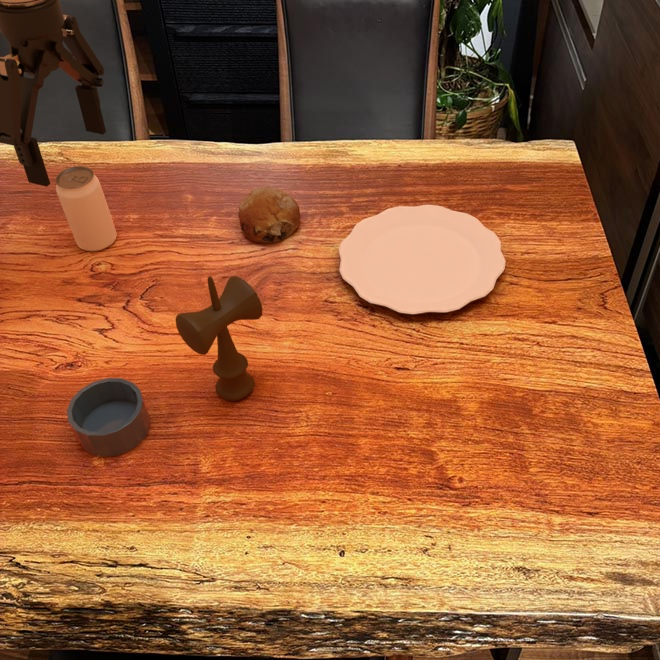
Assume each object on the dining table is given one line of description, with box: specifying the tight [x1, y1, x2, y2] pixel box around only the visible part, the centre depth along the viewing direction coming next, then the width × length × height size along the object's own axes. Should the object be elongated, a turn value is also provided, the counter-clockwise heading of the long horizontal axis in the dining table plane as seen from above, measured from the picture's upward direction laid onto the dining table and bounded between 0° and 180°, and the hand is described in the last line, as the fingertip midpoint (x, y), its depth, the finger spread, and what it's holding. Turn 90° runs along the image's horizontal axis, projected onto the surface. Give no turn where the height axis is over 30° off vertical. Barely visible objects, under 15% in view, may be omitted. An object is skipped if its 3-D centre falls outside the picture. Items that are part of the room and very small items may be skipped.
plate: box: [337, 204, 507, 316], centre depth 122 cm, size 25×25×2 cm
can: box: [54, 165, 118, 253], centre depth 124 cm, size 6×6×12 cm
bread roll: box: [238, 186, 301, 244], centre depth 129 cm, size 10×10×8 cm
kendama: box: [175, 275, 263, 402], centre depth 100 cm, size 6×10×20 cm, turn 138°
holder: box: [66, 377, 151, 458], centre depth 102 cm, size 9×9×4 cm
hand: (69, 156), depth 108 cm, fingers open, 13 cm apart
